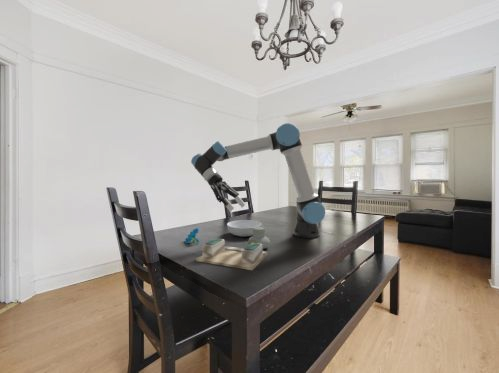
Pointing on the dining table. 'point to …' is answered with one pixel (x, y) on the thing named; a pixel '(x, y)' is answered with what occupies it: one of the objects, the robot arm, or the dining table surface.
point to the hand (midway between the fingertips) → (238, 207)
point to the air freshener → (259, 237)
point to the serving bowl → (242, 227)
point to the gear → (192, 236)
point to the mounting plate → (232, 254)
